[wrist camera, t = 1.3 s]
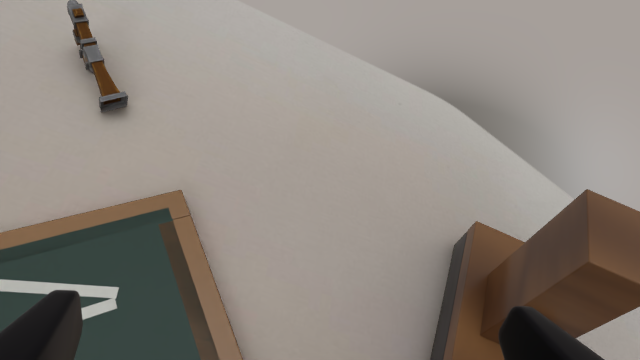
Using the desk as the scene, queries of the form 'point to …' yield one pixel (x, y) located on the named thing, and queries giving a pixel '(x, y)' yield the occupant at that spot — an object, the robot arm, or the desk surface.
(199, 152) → the desk surface
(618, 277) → the duster
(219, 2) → the desk surface
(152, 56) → the desk surface
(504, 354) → the robot arm
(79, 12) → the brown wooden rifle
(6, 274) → the board
